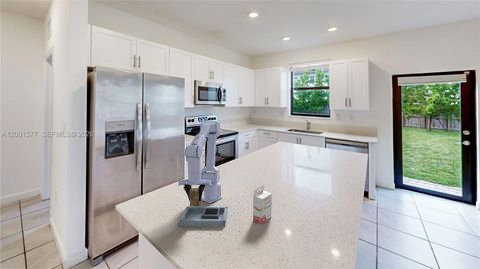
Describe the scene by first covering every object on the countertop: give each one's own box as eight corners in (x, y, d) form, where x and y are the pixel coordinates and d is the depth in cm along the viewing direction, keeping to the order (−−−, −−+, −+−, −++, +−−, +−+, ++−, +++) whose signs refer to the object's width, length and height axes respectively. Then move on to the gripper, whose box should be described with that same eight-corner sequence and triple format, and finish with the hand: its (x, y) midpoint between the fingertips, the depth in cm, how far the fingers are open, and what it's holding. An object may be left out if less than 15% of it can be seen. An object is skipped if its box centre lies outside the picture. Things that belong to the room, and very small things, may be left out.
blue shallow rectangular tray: (227, 211, 103) (227, 205, 103) (225, 226, 90) (225, 219, 90) (187, 211, 103) (187, 204, 103) (179, 226, 91) (178, 218, 90)
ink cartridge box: (262, 224, 91) (262, 192, 90) (252, 220, 94) (252, 189, 93) (272, 216, 98) (272, 186, 96) (263, 213, 101) (263, 184, 99)
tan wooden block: (200, 202, 98) (200, 188, 97) (198, 206, 94) (198, 191, 93) (192, 202, 98) (191, 188, 97) (189, 206, 94) (189, 191, 93)
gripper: (175, 174, 90) (176, 203, 92) (208, 174, 90) (209, 204, 92) (180, 169, 97) (181, 197, 99) (211, 169, 97) (212, 197, 99)
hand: (195, 200), depth 96 cm, fingers closed on tan wooden block, 4 cm apart
